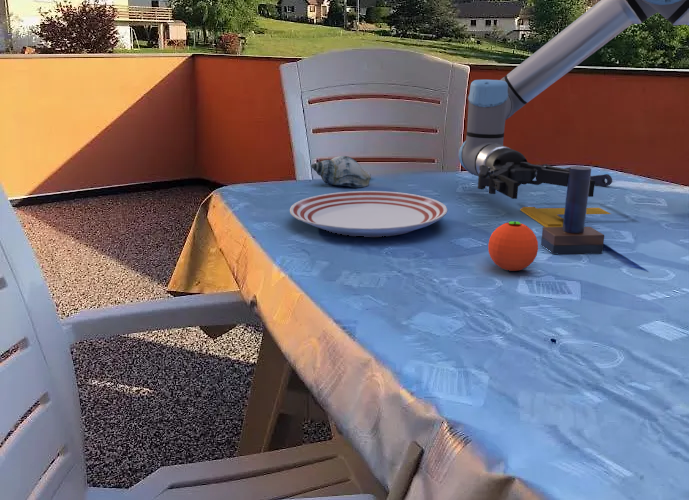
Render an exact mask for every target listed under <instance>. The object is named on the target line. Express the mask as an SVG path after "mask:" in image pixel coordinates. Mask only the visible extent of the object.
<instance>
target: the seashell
mask: <svg viewBox="0 0 689 500" xmlns="http://www.w3.org/2000/svg"><path fill="white" fill-rule="evenodd" d="M310 168H311V169H313V171H315V173H316V174H317V176H320V178H321V180H322V181H323V183H325V184H326V185H329V186H330V185H331V186H343V187H349V188H352V189H358V188H366V187H369V185H370V181H371V179H372V174H371V173H370V172H369V171H367V170H364V168H363V167H362V166H361V164H360V163H359V162H357V160H355V159H354V158H352V157H350V156H347V155H337V156H335V157H333V158H332V159H324V160H321V161H318V162H315V163H312V164H310Z"/></svg>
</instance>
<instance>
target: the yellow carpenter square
mask: <svg viewBox="0 0 689 500" xmlns="http://www.w3.org/2000/svg"><path fill="white" fill-rule="evenodd" d="M520 212H522V213H523V214H525V215H526V216H527V217H529V218H531V219H532V220H534V221H535V222H536V223H538V224H540V225H541V226H543V227H563V221H564V217H561V216H560V215H563V216H564V212H565V207H536V206H522V207H521V208H520ZM586 215H612V213H611V212H609V211H606V210H605V209H603V208H602V207H587V210H586Z"/></svg>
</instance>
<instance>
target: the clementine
mask: <svg viewBox="0 0 689 500" xmlns="http://www.w3.org/2000/svg"><path fill="white" fill-rule="evenodd" d="M487 248H488V249H487V251H488V254H489V257H490V259H491V260H492V262H493V263H494V264H495V265H497V267H499V268H500V269H502V270H506V271H508V270H509V271H508V272H517V271H521V270H524V269H526V268H527V267H529V266H530V265H531V264H532V263H533V262H534V261H535V260H536V257H537V256H538V251H539V241H538V239H537V235H536V234H535V233H534V231H533V230H532V229H531V228H530V227H529V226H528V225H526V224H524V223H521V222H520V221H514V220H513V221H512V220H511V221H508V222H505V223H503V224H501V225H499V226H498V227H496V228H495V229H494V231H493V232H492V233H491V234H490V237H489V239H488V245H487Z"/></svg>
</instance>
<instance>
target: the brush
mask: <svg viewBox="0 0 689 500" xmlns="http://www.w3.org/2000/svg"><path fill="white" fill-rule="evenodd" d="M569 167H570V168H569ZM569 167H568V168H569V176H568V185H567V187H566V193H565V202H564V203H565V204H564V208H565V212H564V215H563V219H564V221H563V227H544V226H543V227H542V230H541V231H542V232H541V238H540V239H541V242H540V246H541V245H542V247H543V246H544V247H545V248H547V249H548V250H550V251H551V252H552V253H558V254H557V255H585V254H584V253H599V254H603V250H604V243H605V242H604V241H605V234H603V233H601V232H600V231H599V230H597V229H595V228H593V227H592V226H585V225H586V217H587V214H586V210H587V208H588V201H589V197H588V193H589V185H590V176H592V168H591V167H588V166H581V165H572V166H569ZM544 247H543V248H544ZM545 248H544V249H545ZM547 249H546V250H547ZM548 250H547V251H548ZM551 252H550V253H551ZM552 253H551V254H552Z"/></svg>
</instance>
